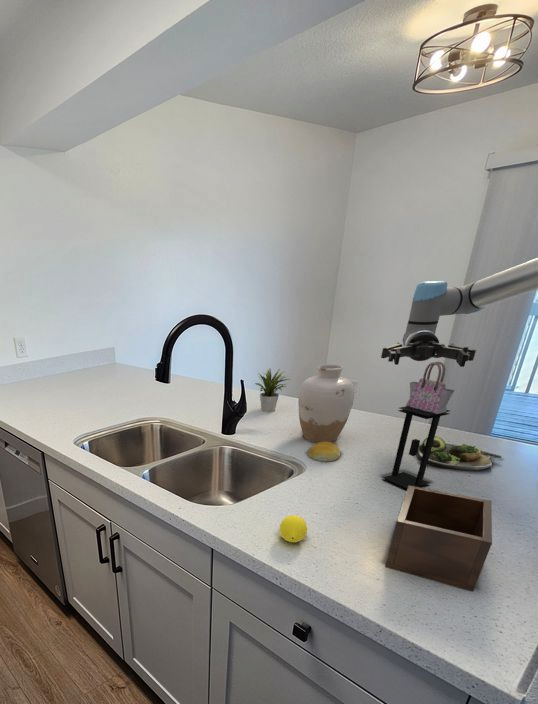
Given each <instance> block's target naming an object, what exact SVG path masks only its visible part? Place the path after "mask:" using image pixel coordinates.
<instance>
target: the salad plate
mask: <svg viewBox="0 0 538 704" xmlns="http://www.w3.org/2000/svg"><path fill="white" fill-rule="evenodd" d="M426 441H427V437H425V439H423V441H422V442H420V444H419V448H418V451H417V458H418V460H419V461H420V462H421V460H422V456H423V452H424V449H425V445H426ZM482 449H483V448H481V447H480V448H477V447H476V446H475V445H473V446H472V445H468V444H465V443H463V444H452V443H446V441H445V440H444V439H443V438H442V437H440V436H437V435H435V438H434V441H433V445H432V448H431V452H430V456H429V459H428V463H427V466H430V467H435V468H440V469H451V470H457V471H458V470H461V471H481V470H485V469H488V468H490V467H493V463H492V461H491V459H501V458H502V455H500V454H496V453H493V452H492V453H491V452H487V451H484V450H482Z"/></svg>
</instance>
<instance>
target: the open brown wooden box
mask: <svg viewBox="0 0 538 704" xmlns="http://www.w3.org/2000/svg"><path fill="white" fill-rule="evenodd" d="M404 495H405V496H404V498H403V501H402V504H401V507H400V510H399V513H398V516H397V519H396V522H395V525H394V526H395V527H394V530H393V534H392V537H391V540H390V545H389V548H388V553H387V557H386V561H385V563H384V564H385V565H384V568H387V569H391V570H395V571H398V572H402V573H405V574H408V575H413V576H416V577H420V578H423V579H427V580H430V581H434V582H436V583H441V584H444V585H447V586H451V587H455V588H459V589H461V590H465V591H469V592H474V591H475V588H476V585H477V584H478V581H479V578H480V575H481V574H482V573H481V572H482V570H483V568H484V565H485V563H486V560H487V557H488V554H489V552H490V550H491V547H492V545H493V522H492V521H493V517H492V516H493V515H492V500H491V499H490V500H489V499H485V498H484V499H483V498H479V497H474V496H468V495H462V494H458V493H452V492H447V491H442V490H437V489H431V488H426V487H422V488H421V487H415V486H410V485H409V486H408V489H407V491H405V494H404Z"/></svg>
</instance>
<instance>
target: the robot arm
mask: <svg viewBox="0 0 538 704" xmlns="http://www.w3.org/2000/svg"><path fill="white" fill-rule="evenodd" d="M536 291H538V257H536V258H534V259H531V260H528V261H526V262H523V263H521V264H517V265H516V266H512V267H510V268H507V269H504V270H502V271H499V272H497V273H494V274H492V275H489V276H487V277H484V278H482V279H479V280H477V281H474V282H471V283H469V284H466V285H462V286H451V287H449V286H448V282H447V281H445V280H431V281H430V280H429V281H421V282H419V283H418V284H417V285H416V287H415V290H414V293H413V297H412V301H411V307H410V311H409V317H408V321H407V323H406V329H405V332H404V334H403V336H402V343H401V342H396V343H395V344H392V345H388V346H385V347H382V350H381V355H380V358H381V359H387V358H388V359H387V361H388V362H391V363H394V365H397V366H398V365H399V363H400V359H401V358H404V357H406V358H410V359H411V360H413V361H416V362H424V361H425V362H426V361H428V360H430V359H432V358H434V359H441V358H445V359H448V360H449V359H450V360H454V361H455V362H456V363H457V364H458V366H459V367H460V368H464V367H465V365H466V362H472V361H474V359H475V356H476V353H477V349H475V348H474V349H473V348H470V346H462V345H457V344H455V343H449V344H448V345H447V346H446V344H444V343H440V340H439V338H438V337H437V335H436V331H437V327H438V324H439V320H440V317H441V316H442V317H443V316H452V315H469V314H474V313H478V312H481V311H482V310H484V309H485V307H488V306H492V305H495V304H497V303H501V302H505V301H507V300H510V299H514V298H517V297H520V296H523V295H527V294H529V293H532V292H533V293H534V292H536Z"/></svg>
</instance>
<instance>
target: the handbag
mask: <svg viewBox="0 0 538 704" xmlns="http://www.w3.org/2000/svg"><path fill="white" fill-rule="evenodd" d="M435 366H436V367H437V369H438V373H437V379H436V380H432V379H431V373H432V370H433V368H434V367H435ZM445 375H446V365H445V364H444V363H443V362H442V361H434V362H429V364H428V365H427V366H426V367H425V369H424V373H423V375H422V378H419V381H418V382H417V381H411V382H409V399H408V400H407V402H406V404H405V406H400V407H398V409H399V410H397V412H400V413H404V414H405V417H404V421H403V425H402V428H401V429H402V430H401V434H400V438H399V441H398V447H397V450H396V453H395V459H394V463H393V468H392V472H391V474H389V475H386V476H382V477H381V478H382V481H383V482H385V483H386V484H389V485H392V486H394V487H397V488H399V489H401V490H403V491H405V492H407V489H408V486H409V485H410V486H415V487H421V488H426V487H429V486H430V484H431V482H430V481H427V480H425V479H424V478H425V477H424V476H425V474H426V470H427V466H428V465H427V463H428V459H429V456H430V452H431V448H432V445H433V441H434V438H435V436H436V434H437V431H438V426H439V424H440V423H439V422H440V420H441V417H443V416H447V415H450V413H449V412H451V410H449V409H447V405H448V404H449V401H450V399H451V398H452V396H453V394H454V393H455V390H454V389H450V388H446V382H444V379H445ZM413 416H414V417H417V418H421V419H425V420H429V419H431V422H430V427H429V430H428V434H427V437H426V438H427V441H426V445H425V449H424V452H423V456H422V460H421V461H420V464H419V466H418V467H419V468H418V472H417V475H416V476H415V475H413V474H410V473H408V472H405V471H401V472H400V468H401V465H402V460H403V456H404V453H405V448H406V445H407V441H408V440H407V439H408V436H409V432H410V427H411V424H412V421H413V420H412V419H413ZM419 444H421V440H420V439H417V438H414V439H411V443H410V447H409V451H408V455H409V456H412V457H415V456H418V453H417V451H418V448H419Z"/></svg>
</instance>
